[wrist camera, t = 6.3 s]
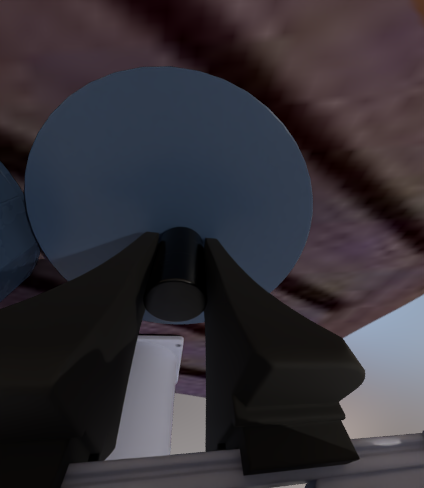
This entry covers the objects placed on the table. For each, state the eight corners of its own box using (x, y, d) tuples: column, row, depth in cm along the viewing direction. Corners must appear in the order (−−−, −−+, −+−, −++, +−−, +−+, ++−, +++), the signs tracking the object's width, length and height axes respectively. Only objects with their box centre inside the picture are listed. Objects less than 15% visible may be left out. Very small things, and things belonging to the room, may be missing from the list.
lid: (259, 315, 16) (283, 383, 12) (76, 308, 14) (24, 391, 10) (355, 115, 8) (518, 105, 4) (-20, 24, 6) (-506, -205, 2)
